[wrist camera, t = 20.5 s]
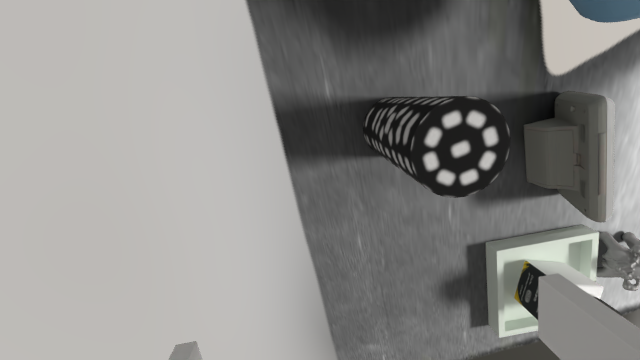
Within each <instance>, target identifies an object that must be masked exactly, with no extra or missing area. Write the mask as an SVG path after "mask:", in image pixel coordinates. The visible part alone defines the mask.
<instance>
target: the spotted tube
mask: <svg viewBox="0 0 640 360" xmlns="http://www.w3.org/2000/svg"><path fill="white" fill-rule="evenodd" d="M363 131H364V136H365V139H366V141H367V143H368V145H369V146H370V147H371V148H372V149H373V150H374V151H375V152H377V153H378V154H380V155H381V156H382V157H384V158H385V159H386V160H388V161H389V162H391V163H392V164H393V165H395V166H396V167H398V168H399V169H400V170H402V171H403V172H405V173H406V174H407V175H409V176H410V177H411V178H413V179H414V180H416V181H417V182H418V183H420V184H421V185H423V186H424V187H425V188H427V189H428V190H430V191H432V192H433V193H435V194H437V195H441V196H444V197H453V198H457V197H465V196H468V195H471V194H474V193H476V192H478V191H480V190H482V189H484V188H485V187H486V186H488V185H489V184H490V183H491V182H492V181H493V180H494V179H495V178H496V177H497V176H498V175H499V173H500V172H501V170H502V169H503V167H504V165H505V163H506V160H507V158H508V154H509V150H510V132H509V128H508V125H507V122H506V120H505V118H504V116H503V115H502V113H501V112H500V111H499V110H498V109H497V108H496V107H495V106H494V105H492V104H491V103H489V102H488V101H486V100H483V99H480V98H477V97H469V96H449V97H390V98H386V99H382V100H381V101H379V102H377V103H376V104H375V105H373V106H372V107H371V109H370V110H369V111H368V113H367V115H366V117H365V120H364V126H363Z"/></svg>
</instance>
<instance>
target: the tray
mask: <svg viewBox="0 0 640 360" xmlns="http://www.w3.org/2000/svg"><path fill="white" fill-rule="evenodd" d="M598 244H599V232H598V231H596V230H593V229H591V228H589V227H587V226H584V225H577V226H571V227H566V228H561V229H555V230H550V231H544V232H539V233H534V234H528V235H523V236H518V237H512V238H507V239H501V240H496V241H491V242H486V268H487V295H488V323H489V326H490V327H491V328H492V330H493V331H494V332H495V333H496V335H497V336H498V337H499V338H500V337H505V336H511V335H516V334H521V333H526V332H532V331H537V330H538V320H537V319H536V318H535V317H534V316H533V315H532V314H531V313H529V312H528V311H527V310H526V309H525V308H524V307H523V306H522V305H521V304H520V303H519V302H518V301H517V300H516V299H515V298H514V293H515V290H516V287H517V283H518V280H519V277H520V273H521V270H522V266H523V263H524V261H525V260H535V261H549V262H563V263H566V264H567V265H569V266H571V267H572V268H574V269H575V270H577V271H579V272H580V273H582V274H583V275H585V276H587V277H588V278H590V279H591V280H593V281H595V282H596V273H597V258H598Z"/></svg>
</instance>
